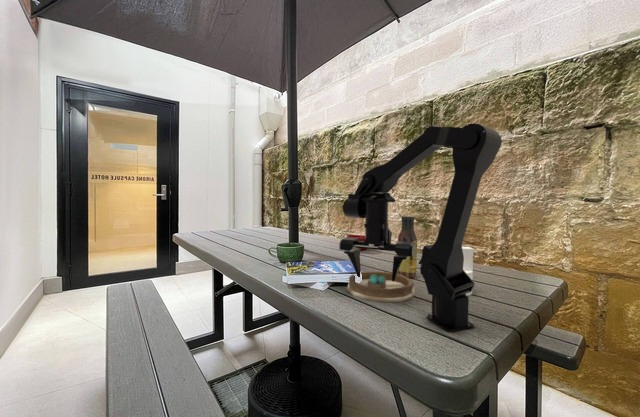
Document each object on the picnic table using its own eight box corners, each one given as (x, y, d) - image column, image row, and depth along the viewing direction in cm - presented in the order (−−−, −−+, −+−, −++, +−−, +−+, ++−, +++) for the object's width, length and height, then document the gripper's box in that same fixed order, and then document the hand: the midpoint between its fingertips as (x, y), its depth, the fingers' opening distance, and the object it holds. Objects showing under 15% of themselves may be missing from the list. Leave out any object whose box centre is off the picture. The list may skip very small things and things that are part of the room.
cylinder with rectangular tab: (463, 285, 80) (464, 245, 80) (478, 296, 71) (479, 251, 71) (432, 284, 81) (433, 244, 81) (442, 295, 72) (443, 250, 72)
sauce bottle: (412, 279, 86) (413, 216, 85) (393, 276, 90) (394, 216, 89) (419, 275, 91) (420, 216, 90) (401, 272, 95) (401, 215, 94)
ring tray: (429, 297, 70) (429, 284, 70) (366, 306, 64) (366, 291, 64) (389, 278, 87) (390, 267, 87) (337, 283, 81) (337, 272, 81)
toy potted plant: (387, 293, 70) (388, 277, 70) (372, 295, 69) (372, 278, 69) (378, 288, 74) (379, 272, 74) (364, 289, 73) (364, 274, 73)
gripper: (418, 219, 74) (417, 275, 75) (353, 216, 82) (352, 267, 83) (412, 221, 64) (411, 287, 65) (338, 218, 72) (338, 277, 73)
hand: (375, 278), depth 72 cm, fingers open, 9 cm apart
